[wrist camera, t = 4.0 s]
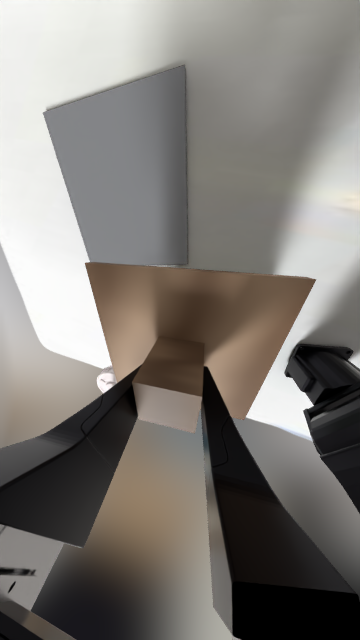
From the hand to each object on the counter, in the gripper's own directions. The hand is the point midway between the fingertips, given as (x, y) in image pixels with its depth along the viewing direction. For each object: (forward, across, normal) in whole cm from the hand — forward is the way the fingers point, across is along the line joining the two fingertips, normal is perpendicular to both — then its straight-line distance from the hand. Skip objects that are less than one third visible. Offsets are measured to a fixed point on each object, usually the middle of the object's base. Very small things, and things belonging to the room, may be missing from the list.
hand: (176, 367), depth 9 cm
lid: (+2, 0, 0) cm, 2 cm away
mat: (+12, +8, -14) cm, 20 cm away
